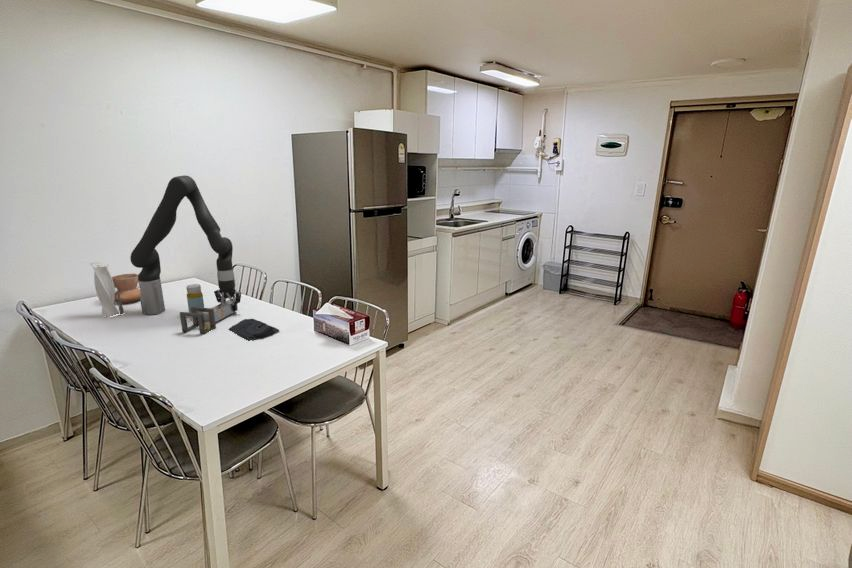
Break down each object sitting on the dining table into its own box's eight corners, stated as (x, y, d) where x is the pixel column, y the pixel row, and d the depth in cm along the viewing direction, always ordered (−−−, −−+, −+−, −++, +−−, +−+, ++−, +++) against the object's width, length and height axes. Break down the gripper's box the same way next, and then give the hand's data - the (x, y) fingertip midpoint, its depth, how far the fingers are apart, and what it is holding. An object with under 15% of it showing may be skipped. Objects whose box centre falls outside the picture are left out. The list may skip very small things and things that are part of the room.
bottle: (208, 312, 222) (204, 284, 218) (199, 317, 216) (195, 288, 211) (195, 311, 223) (191, 283, 219) (186, 316, 216) (182, 287, 212)
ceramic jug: (142, 294, 249) (138, 270, 245) (151, 300, 239) (147, 275, 235) (105, 302, 236) (99, 276, 232) (112, 308, 226) (107, 282, 222)
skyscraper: (108, 319, 212) (97, 263, 204) (96, 317, 214) (85, 262, 206) (125, 314, 219) (115, 259, 212) (113, 312, 222) (102, 258, 214)
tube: (211, 324, 204) (210, 313, 203) (202, 323, 205) (200, 313, 204) (237, 310, 223) (236, 300, 222) (229, 309, 224) (228, 299, 223)
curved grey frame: (182, 332, 197) (179, 312, 194) (195, 325, 205) (192, 306, 202) (204, 334, 195) (201, 314, 192) (216, 327, 203) (213, 308, 200)
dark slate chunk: (257, 321, 213) (256, 312, 211) (282, 333, 199) (281, 323, 198) (226, 330, 201) (224, 320, 200) (250, 343, 188) (249, 333, 186)
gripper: (208, 279, 214) (212, 312, 219) (234, 281, 211) (238, 314, 216) (218, 275, 221) (221, 307, 226) (243, 277, 218) (246, 309, 223)
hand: (229, 310), depth 221 cm, fingers closed on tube, 5 cm apart
